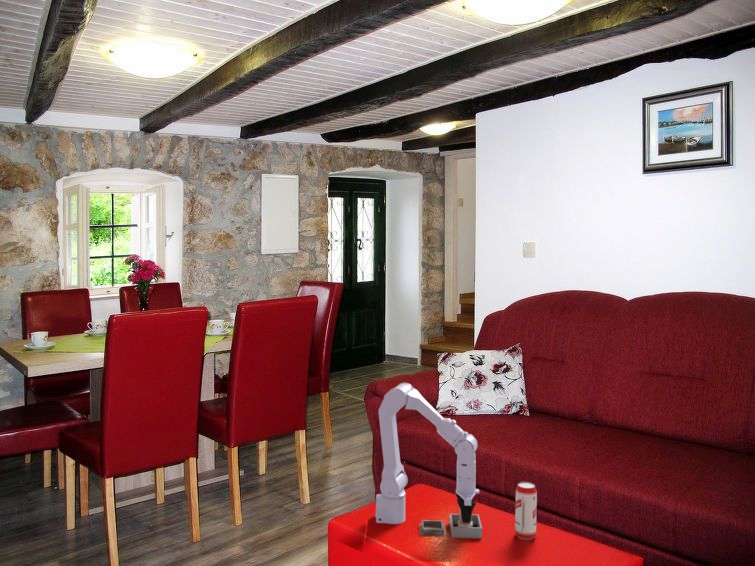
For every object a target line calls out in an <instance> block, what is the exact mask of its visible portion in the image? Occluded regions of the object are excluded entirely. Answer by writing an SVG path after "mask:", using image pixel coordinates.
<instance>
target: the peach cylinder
mask: <svg viewBox="0 0 755 566" xmlns="http://www.w3.org/2000/svg"><path fill="white" fill-rule="evenodd" d="M458 509H459V511H458V514H459V521H458V524H457V527H473V526H474V525H473V522H472V521H471V520H470V523H463V522H462V517H461V510H460V507H459V508H458Z"/></svg>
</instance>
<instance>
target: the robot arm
mask: <svg viewBox="0 0 755 566" xmlns="http://www.w3.org/2000/svg"><path fill="white" fill-rule="evenodd" d="M404 406H405V410H413V411H417V412H418V413H420V414H421V415H422V416H423V417H425V418H426V419H427V420H428V421H430V422H431V423H432V424H433V425H434V426H435V427H436V432H437V433H438V435H440V436H441V437H442V438H443V439H444V440H445V441H446V442H447V443H448V444H449V445H450V446H452V447H453V448H454V453H455V454H456V455H457V456H456V458H457V459H456V488H455V496H456V498H457V499H456V501H457V505H458V506H459V507H460V510H461V517H462V522H463V523H470V520H471V515H472V514H473V511H474V508H475V507H476V505H477V500H473V499H474V497H475V496H476V495H477V494H480V489H479V488H476V478H477V477H476V475H477V474H476V472H477V465H476V464H477V461H476V458H477V457H476V455H477V454H476V450H477V449H478V445H479V444H478V440H477V438H476V437H475V435H473V434H471V433H469V432H468V431H464V430H463V429H462V428H461V427H460V426H459V425H457V421H456V420H455V419H451V418H450V417H449V418H447V417H443V416H442V415H441V414H440V413H439V412H438V411H437V410H436V409H435V408H434V407H433V406H432V405H431V404H430V403H429V402H428V401H427V400H426V398H424V396H422V394H421V393H420V392H419V390H418V389H416V388H414V387H413V386H412V384H410V383H408V382H401V383H399V384H398V385H397V386H395V387H394V388H391V389H390V390H388V392H386V394H384V395H383V400H382V401H381V404H380V405H379V408H378V419H379V429H380V439H381V440H380V441H381V449H382V458H383V469H382V472H381V482H380V486H379V488H380V489H379V490H380V493H378V494H376V497H375V498H376V499H375V500H376V501H375V515H374V517H375V523H377V524H390V525H399V524H403V523H404V522H405V521H406V491H405V488H406V486H407V485H408V482H409V479H408V478H409V477H408V476H407V474H406V472H405V468H404V465H403V464H402V463H401V456H400V454H401V453H400V447H399V446H400V445H399V437H398V427H397V426H398V424H397V413H398V412H399V411H400V410H401V408H404Z"/></svg>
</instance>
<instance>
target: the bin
mask: <svg viewBox="0 0 755 566" xmlns="http://www.w3.org/2000/svg"><path fill="white" fill-rule="evenodd" d="M458 521H459V513H449V528H450V536H451V538H456V539H457V538H459V539H460V538H461V539H462V538H463V539H483V526H482V521H481V519H480V514H476V513H475V514H473V513H472V515H471V521H472V522H473V526H474V525H475V526H477V527H475V526H474V527H458V526H454V525H458Z"/></svg>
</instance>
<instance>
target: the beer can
mask: <svg viewBox="0 0 755 566" xmlns="http://www.w3.org/2000/svg"><path fill="white" fill-rule="evenodd" d="M537 493H538V491H537V489H536V485H535V484H534V483H533V482H529V481H521V482H518V483H517V487H516V489H515V508H514V509H515V515H514V521H515V522H514V534H515V536H516V537H517V538H518V539H520V540H522V541H532V540H534V538H535V537H537V512H538V511H537V509H538V508H537V505H538V504H537V503H538V501H537V500H538V496H537V495H538V494H537Z"/></svg>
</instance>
